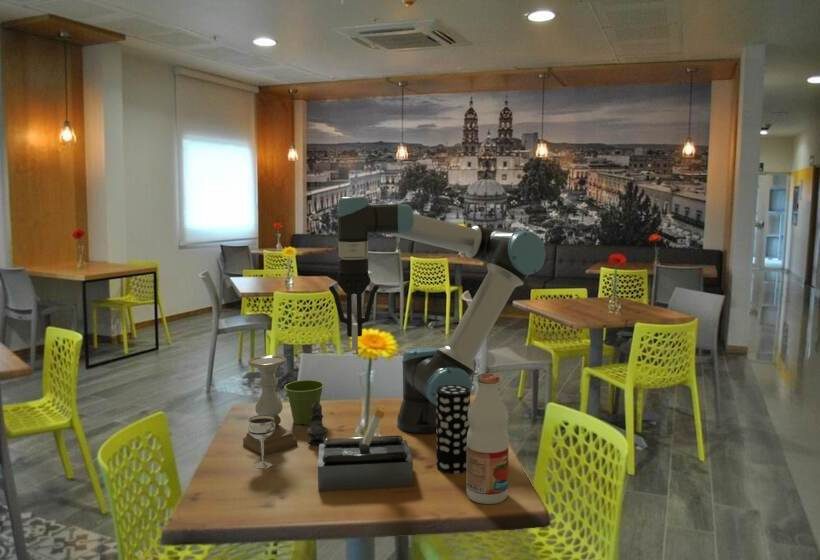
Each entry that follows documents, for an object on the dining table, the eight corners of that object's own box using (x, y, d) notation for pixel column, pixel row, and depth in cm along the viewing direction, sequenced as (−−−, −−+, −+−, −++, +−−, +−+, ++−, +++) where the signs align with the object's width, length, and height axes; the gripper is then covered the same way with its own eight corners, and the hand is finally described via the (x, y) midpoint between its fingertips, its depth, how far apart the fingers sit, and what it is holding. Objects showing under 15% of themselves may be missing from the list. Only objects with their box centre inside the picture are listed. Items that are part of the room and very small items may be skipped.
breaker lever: (366, 449, 163) (384, 407, 163) (367, 455, 159) (385, 412, 159) (357, 446, 163) (375, 404, 162) (358, 452, 159) (376, 409, 158)
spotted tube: (465, 459, 172) (465, 384, 170) (473, 472, 164) (473, 393, 161) (433, 461, 171) (433, 385, 168) (439, 474, 163) (440, 395, 160)
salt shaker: (302, 444, 183) (301, 401, 182) (314, 437, 188) (313, 395, 187) (319, 447, 180) (318, 404, 179) (332, 440, 186) (331, 398, 184)
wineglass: (281, 464, 169) (280, 419, 168) (258, 472, 165) (256, 425, 163) (267, 457, 174) (265, 412, 173) (244, 464, 169) (242, 419, 168)
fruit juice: (469, 484, 157) (470, 369, 153) (509, 488, 155) (511, 371, 151) (463, 502, 148) (464, 380, 144) (505, 507, 146) (508, 383, 142)
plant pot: (300, 412, 209) (299, 377, 207) (332, 418, 204) (331, 382, 202) (277, 424, 198) (275, 387, 197) (309, 430, 193) (309, 393, 192)
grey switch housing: (406, 462, 170) (406, 433, 169) (412, 486, 156) (412, 454, 155) (319, 466, 168) (319, 436, 167) (318, 491, 154) (317, 459, 153)
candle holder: (276, 434, 190) (274, 352, 187) (298, 444, 182) (295, 359, 179) (242, 444, 183) (238, 359, 180) (263, 455, 175) (260, 367, 172)
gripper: (327, 259, 165) (329, 352, 168) (379, 259, 166) (380, 351, 169) (327, 256, 172) (329, 346, 175) (378, 256, 174) (379, 344, 177)
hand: (354, 348), depth 172 cm, fingers closed
